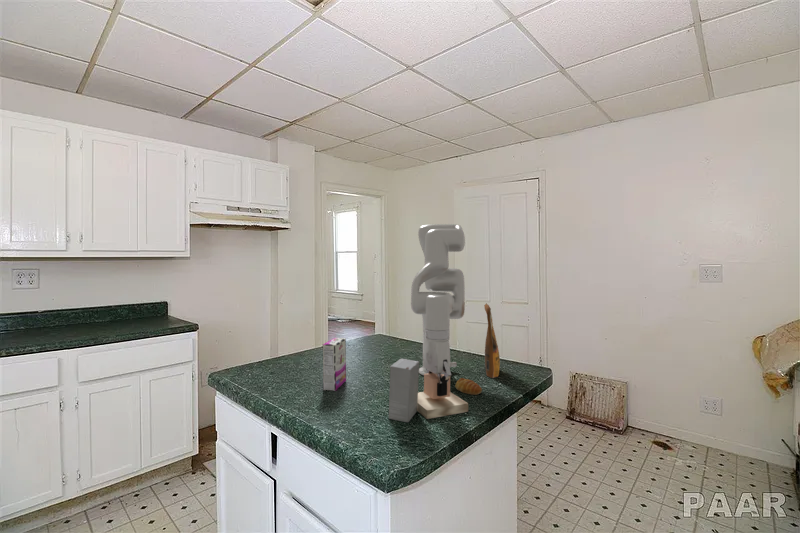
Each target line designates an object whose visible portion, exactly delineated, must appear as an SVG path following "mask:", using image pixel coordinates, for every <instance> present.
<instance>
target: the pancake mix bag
mask: <svg viewBox="0 0 800 533" xmlns="http://www.w3.org/2000/svg"><path fill="white" fill-rule="evenodd" d="M484 310H485V313H486V318H487V329H486V337H485V344H484V365H485V366H484V367H485V373H486V375H485V376H487V377H488V378H492V379H494V378H498V377H499V375H500V367H501V366H500V365H501V361H500V360H501V358H500V357H501V356H500V352H499V345H498V342H497V338H496V333H495V330H494V326H493V324H494V323H493V316H492V315H493V314H492V311H491V310H492V308H491V306H490V305H489V304H488V303H487V302H486V303H485V304H484Z"/></svg>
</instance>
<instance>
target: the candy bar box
mask: <svg viewBox="0 0 800 533" xmlns="http://www.w3.org/2000/svg"><path fill="white" fill-rule="evenodd" d="M346 341H347V340H346V338H345V337H333V338H332V339H329V340H328V341H326V342H325V343H323V344H322V382H323V383H322V388H323V391H326V390H327V391H329V392H337V391H338V389H340V387H341V386H343V384H344V383H346V381H347V350H346V349H347V348H346V347H347V344H346V343H347V342H346Z"/></svg>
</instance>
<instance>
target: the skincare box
mask: <svg viewBox="0 0 800 533" xmlns="http://www.w3.org/2000/svg"><path fill="white" fill-rule="evenodd" d="M389 369H390V370H389V371H390V372H389V393H388V394H389V395H388V419H389V420H395V421H399V422H404V423H409V422H410V421H411V420H412V419H413V417H414V416H415V415H416V414H417V412H418V411H417V402H418V393H419V376H420V373H419V369H420V361H418V360H412V359H406V358H399V359H398V360H397V361H396V362H394V363H392V364H391V365H390V366H389Z"/></svg>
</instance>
